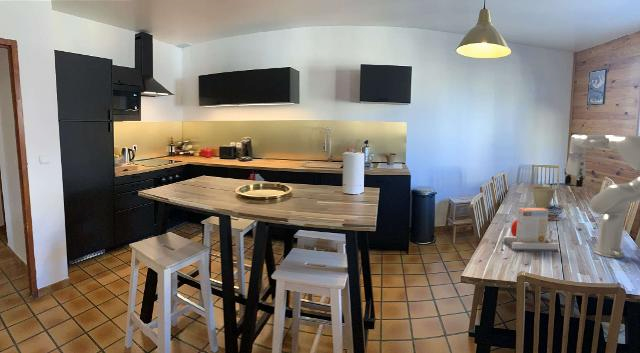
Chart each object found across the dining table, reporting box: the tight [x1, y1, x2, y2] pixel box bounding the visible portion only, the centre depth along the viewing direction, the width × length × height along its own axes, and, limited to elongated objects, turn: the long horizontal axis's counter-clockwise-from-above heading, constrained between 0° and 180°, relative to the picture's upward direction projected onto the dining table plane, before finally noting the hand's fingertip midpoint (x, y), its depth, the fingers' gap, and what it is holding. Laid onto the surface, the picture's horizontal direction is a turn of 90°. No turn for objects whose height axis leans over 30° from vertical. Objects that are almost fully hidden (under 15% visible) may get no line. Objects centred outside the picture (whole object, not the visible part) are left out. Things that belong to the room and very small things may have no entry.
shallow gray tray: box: [502, 235, 559, 252], centre depth 198 cm, size 12×24×4 cm, turn 89°
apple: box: [510, 219, 517, 237], centre depth 209 cm, size 10×10×12 cm
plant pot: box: [532, 185, 556, 209], centre depth 286 cm, size 15×15×16 cm
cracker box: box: [516, 207, 550, 243], centre depth 197 cm, size 14×6×21 cm, turn 91°
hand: (573, 185), depth 208 cm, fingers open, 9 cm apart
